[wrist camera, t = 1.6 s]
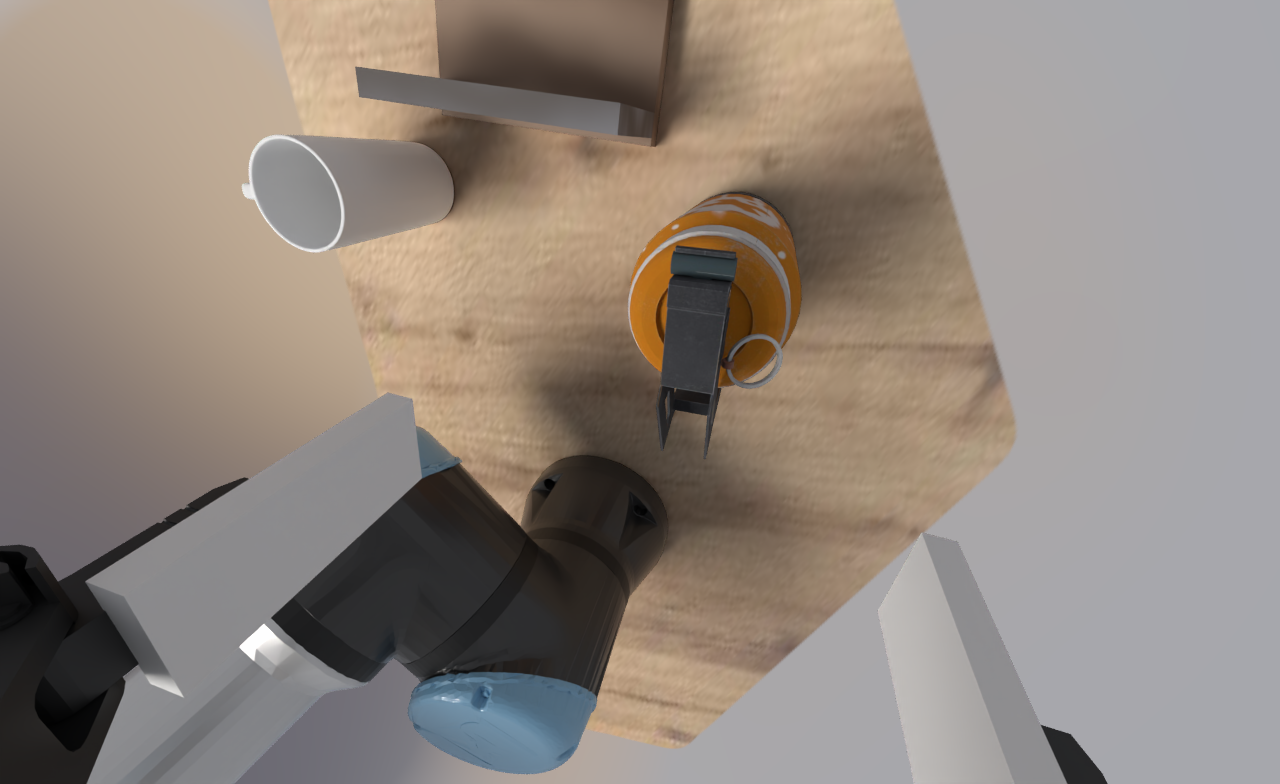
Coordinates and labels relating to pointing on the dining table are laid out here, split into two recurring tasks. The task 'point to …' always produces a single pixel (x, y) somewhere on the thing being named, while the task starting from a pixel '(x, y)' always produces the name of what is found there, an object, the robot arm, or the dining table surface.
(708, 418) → the canister
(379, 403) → the robot arm
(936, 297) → the dining table surface
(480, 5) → the holder
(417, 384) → the dining table surface
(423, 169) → the mug
